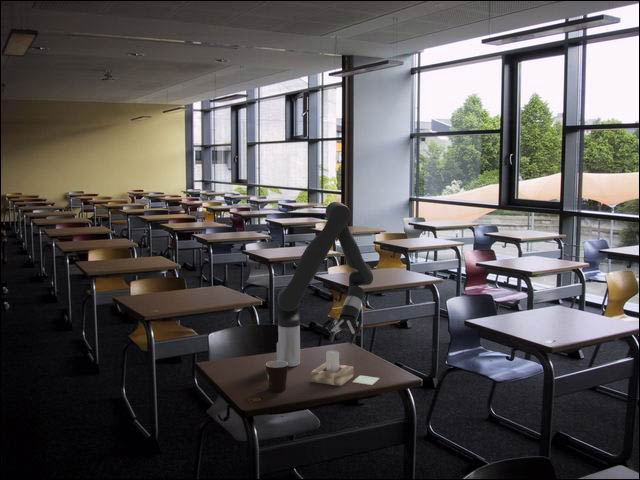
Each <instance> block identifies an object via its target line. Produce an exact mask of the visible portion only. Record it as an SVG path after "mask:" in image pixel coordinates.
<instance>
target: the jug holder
mask: <svg viewBox="0 0 640 480" xmlns="http://www.w3.org/2000/svg"><path fill="white" fill-rule="evenodd" d="M310 374H311V376H310V377H311V380H310V381H311V382H312V383H318V384H319V383H320V384H324V385H325V384H326V385H332V386H337V387H338V386H339V387H341V386H343V385H344V384H346V383H347V382H348V381H349V380H350V379H352V378H353V377H354V366H351V365H345V364H343V365H342V364H339V372H337V373H334V372H328V371H326V362H324V363H322V364H321V365H320V366H318V367H316V368H315V369H313V370H312V371H311V373H310Z"/></svg>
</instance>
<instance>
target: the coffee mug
mask: <svg viewBox="0 0 640 480" xmlns="http://www.w3.org/2000/svg"><path fill="white" fill-rule="evenodd" d="M265 369H266V377H267V383H268V390H269V392H273V393H280V392H281V393H282V392H284V391H286V388H287V379H288V369H289V367H288V363H287V362H285V361H277V360H271V361H267V362H266V363H265Z"/></svg>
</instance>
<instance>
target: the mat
mask: <svg viewBox="0 0 640 480" xmlns="http://www.w3.org/2000/svg"><path fill="white" fill-rule="evenodd" d="M379 380H380V377H376V376H375V377H373V376H367V375H359V376H357V377H356V378H355V379H354V380H353V381H351V382H352V383H354V384H360V385H365V386H366V385H367V386H373V385H374V384H375V383H377V382H378V381H379Z"/></svg>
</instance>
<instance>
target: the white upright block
mask: <svg viewBox="0 0 640 480" xmlns="http://www.w3.org/2000/svg"><path fill="white" fill-rule="evenodd" d="M325 363H326V371H328V372H334V373H337V372H339V365H340V352H339V351H338V350H326V352H325Z"/></svg>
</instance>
